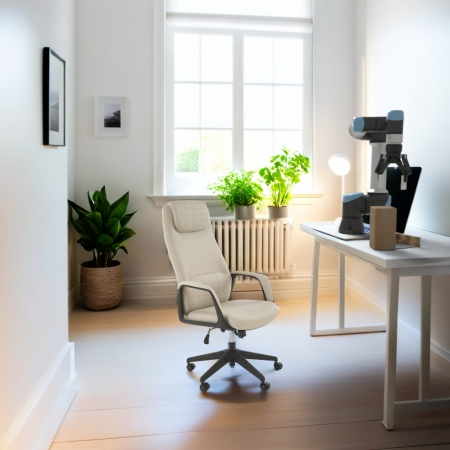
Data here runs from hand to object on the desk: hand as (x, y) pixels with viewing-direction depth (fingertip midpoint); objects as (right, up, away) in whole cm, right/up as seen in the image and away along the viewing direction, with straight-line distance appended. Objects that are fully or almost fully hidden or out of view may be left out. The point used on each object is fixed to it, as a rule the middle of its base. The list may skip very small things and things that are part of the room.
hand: (391, 188), depth 238 cm
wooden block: (-4, -29, +3) cm, 29 cm away
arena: (+7, -28, +10) cm, 30 cm away
